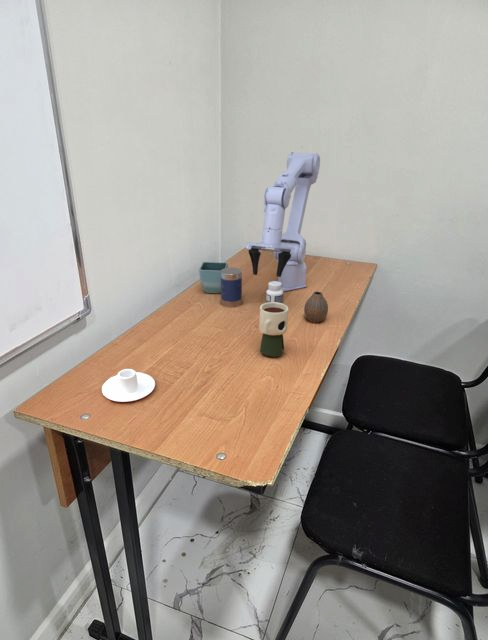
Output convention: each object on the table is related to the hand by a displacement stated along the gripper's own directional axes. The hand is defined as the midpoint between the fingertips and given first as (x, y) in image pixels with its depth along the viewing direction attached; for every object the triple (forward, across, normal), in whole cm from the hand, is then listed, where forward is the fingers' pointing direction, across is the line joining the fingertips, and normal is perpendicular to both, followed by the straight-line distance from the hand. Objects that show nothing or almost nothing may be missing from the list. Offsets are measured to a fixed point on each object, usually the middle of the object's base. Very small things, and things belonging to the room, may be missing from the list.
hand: (266, 275), depth 136 cm
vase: (+11, +14, -9) cm, 20 cm away
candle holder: (+25, -41, -32) cm, 57 cm away
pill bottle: (+11, +4, +1) cm, 12 cm away
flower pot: (+9, -11, +21) cm, 25 cm away
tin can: (+11, -8, +9) cm, 16 cm away
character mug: (+18, -4, -24) cm, 30 cm away
